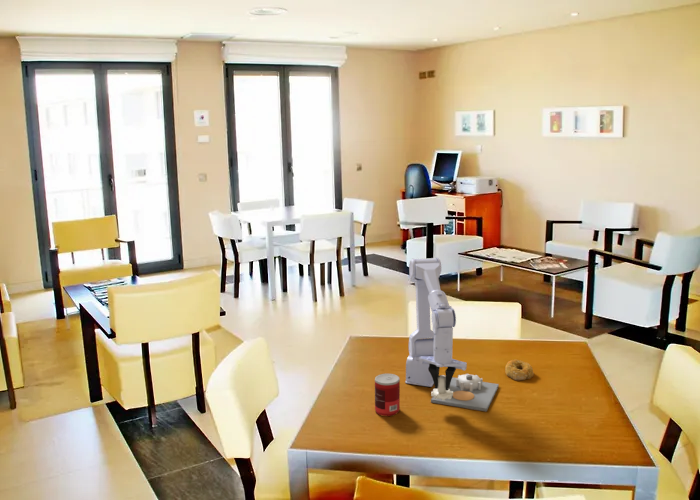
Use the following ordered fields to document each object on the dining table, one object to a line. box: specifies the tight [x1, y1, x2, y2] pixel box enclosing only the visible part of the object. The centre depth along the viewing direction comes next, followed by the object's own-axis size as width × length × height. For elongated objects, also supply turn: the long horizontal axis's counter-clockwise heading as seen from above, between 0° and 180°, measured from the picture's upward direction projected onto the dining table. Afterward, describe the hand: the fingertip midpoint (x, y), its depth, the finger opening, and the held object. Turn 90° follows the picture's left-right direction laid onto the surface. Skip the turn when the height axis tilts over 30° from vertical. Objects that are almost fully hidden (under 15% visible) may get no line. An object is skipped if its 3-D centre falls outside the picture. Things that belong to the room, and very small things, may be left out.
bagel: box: [504, 359, 535, 381], centre depth 229 cm, size 10×11×5 cm
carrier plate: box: [430, 373, 500, 412], centre depth 214 cm, size 18×20×4 cm
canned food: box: [374, 373, 401, 417], centre depth 202 cm, size 8×8×11 cm
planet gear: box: [430, 374, 453, 400], centre depth 201 cm, size 6×6×6 cm
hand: (442, 388), depth 201 cm, fingers closed on planet gear, 3 cm apart
